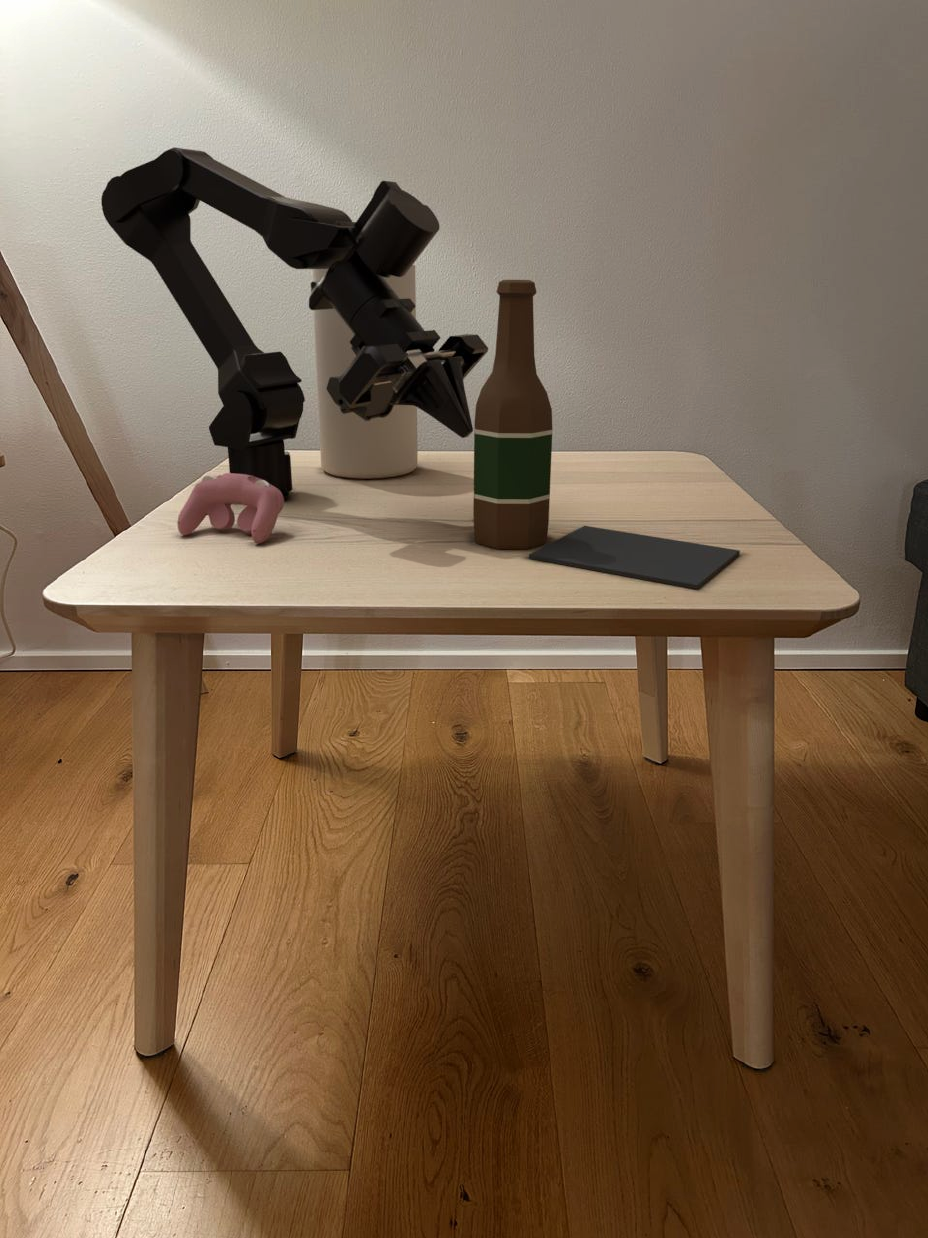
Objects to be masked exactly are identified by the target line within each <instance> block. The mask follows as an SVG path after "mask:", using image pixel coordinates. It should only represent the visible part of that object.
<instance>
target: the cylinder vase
mask: <svg viewBox="0 0 928 1238" xmlns="http://www.w3.org/2000/svg"><path fill="white" fill-rule="evenodd" d="M310 271H311V282H318V281H321V279H322V278H323V277H324V275H325V274H326V272H327V271H328V269H310ZM383 278H384V279H385V280H386V282H387V283H388V284H389V285H390V287H391V288H392V289H393V291H394V292H395V293H396V294H397V296H398V297H399V298H400V299H407V298H410V299H411V300H412V302H413V303H414V304H415V305H416V307H415V308H414V309H413V311H412V312H411V314H412V315H413V316H414V317H415V319H416V320H417V301H416V300H417V299H416V297H417V296H416V295H417V293H416V291H417V290H416V286H417V285H416V264H413V265H412V266H411V268H410V269H409V270H408V272H407V273H406V274H405V276H402V277H396V276H391V277H388V278H386V277H383ZM312 311H313V329H314V348H315V349H314V350H315V352H314V353H315V368H316V369H315V370H316V388H317V406H318V407H317V409H318V410H317V411H318V412H317V413H318V430H319V431H318V432H319V449H320V451H319V452H320V467H321V468H322V470H323V471H324V472H326V473H327V474H330V475H332V476H335V477H341V478H346V479H364V480H366V479H368V480H369V479H387V478H394V477H399V476H404V475H408V474H410V473H412V472H413V471H414V470H415V469H416V468H417V466H418V463H419V462H418V461H419V460H418V458H419V457H418V456H419V455H418V407H416V406H413V405H394V407H393V409H392V411H391V413H390V414H389V415H388V416H386V417H384V418H381V417H378V418H373V419H371V420H370V421H365V420H364V419H362V418H361V417H359V416H358V415H356V414H355V413H353V412H351V413H346V414H343V413H342V412H341V410H340V407H339V406H338V405H337V404H335V402H334V401H333V399H332V398H331V396H330V394H329V393H328V391H327V389H326V388H327V385H328V381H329V378H330V377H333V376H340V375H342V374H343V373H344V371H345V370H346V369H347V367H348V366H349V365H350V363H351V362H352V361H353V360H354V358H355V357H356V354H355V353H354V352H353V350H352V349H351V346H352V345H351V344H350V341H351V339H352V338H353V337H354V334H353V332H352V331H351V330H350V328H349V327H348V326H347V325H346V323H345V322H344V321H343V319H342V318H341V317H340V315H339V314H338V313H337V312H336V310H335V309H324V310H312Z"/></svg>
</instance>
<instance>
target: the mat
mask: <svg viewBox="0 0 928 1238" xmlns="http://www.w3.org/2000/svg"><path fill="white" fill-rule="evenodd" d="M740 554H741V551H740V550H739V549H732V548H727V547H721V546H715V545H707V544H701V543H696V542H689V541H682V540H677V539H671V538H664V537H659V536H658V537H657V536H652V535H646V534H639V533H634V532H626V531H621V530H613V529H609V528H601V527H595V526H589V525H583V526H581V527H579V528H577V529H576V530H573V531H571V532H569V533H568V534H566V535H564V536H561V537H560V538H558V539H556V540H554V541H552V542H550V543H548V544H546V545H544V546H543V547H540V548H539V549H537V550H535V551H533V552H530V553H529V554H528V559H530V560H536V561H541V562H546V563H552V564H556V565H557V564H558V565H561V566H562V565H563V566H568V567H573V568H579V569H583V570H584V569H585V570H590V571H595V572H601V573H606V574H611V575H617V576H622V577H627V578H628V577H629V578H633V579H638V580H644V581H650V582H655V583H660V584H666V585H671V586H677V587H681V588H687V589H692V590H698V589H699V588H701V587H702V586H703V585H704V584H705V583H706V582H708V581H709V580H710V579H711V578H713V577H714V576H715V575H716V574H718V572H720V571H721V570H722V569H724V568H725V567H726V566H727V565H728V564H729V563H731V562H732V561H733V560H734V559H736V558H737V557H738V556H739V555H740Z"/></svg>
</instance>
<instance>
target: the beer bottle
mask: <svg viewBox="0 0 928 1238" xmlns="http://www.w3.org/2000/svg"><path fill="white" fill-rule="evenodd" d="M496 293H497V295H498V296H499V298H498V299H499V300H498V312H497V313H498V314H497V325H496V340H495V351H494V352H495V354H494V360H493V364H492V371H491V372H490V374H489V376H488V378H487V379H486V380H485V382H484V384H483V386H482V387H481V389H480V392H479V395H478V398H477V401H476V404H475V412H474V424H473V425H474V427H473V432H474V433H473V500H472V501H473V503H472V504H473V507H472V509H473V513H472V515H473V517H472V518H473V534H474V535H473V536H474V537H473V538H474V542H475V543H476V544H478V545H482V546H485V547H489V548H491V549H496V550H528V549H531V548H535V547H538V546H541V545H542V546H543V545H544V544H546V542H547V540H548V533H549V523H550V522H549V521H550V497H551V477H552V476H551V475H552V450H553V447H552V446H553V409H552V406H551V402H550V399H549V395H548V391H547V390H546V389H545V386H544V385H543V383H542V381H541V379H540V377H539V376H538V373H537V366H536V365H537V364H536V358H535V325H534V296H535V295H536V294H537V293H538V292H537V288H536V284H535V281H532V280H530V279H502V280H500V281H498V285H497V288H496Z"/></svg>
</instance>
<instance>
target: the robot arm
mask: <svg viewBox="0 0 928 1238" xmlns="http://www.w3.org/2000/svg"><path fill="white" fill-rule="evenodd" d="M100 200H101V209H102V214H103V216H104V218H105V221H106V222H107V224H108V225H109V227H110V228H111V229H112V230H113V232H114V233H115V234H116V235H117V236H118V238H119V239H120V240H121V241H122V242H123V244H125V245H126V246H127V247H128V248H130V249H131V250H133V251H134V252H136V253H137V254H139V255H140V256H142V257H143V258H145V259H146V260H148V261H149V262H150V263H151V264H152V265H153V267H154V268H155V271H157V274H158V276H160V278H161V281H163V283H164V285H165V286H166V288H167V289H168V291H169V293H170V295H171V296H172V297H173V299H174V301H175V302H176V304H177V305H178V307H179V309H180V311H181V312H182V314H183V315H184V317H185V319H186V320H187V322H188V324H189V325H190V327H191V328H192V330H193V331H194V333H195V335H196V336H197V338H198V340H199V341H200V343H201V344H202V346H203V347H204V349H205V351H206V352H207V354H208V356H209V358H210V359H211V360H212V362H213V363H214V366H215V367H216V369H217V395H218V397H219V399H220V401H221V403H222V405H223V406H222V407H221V409H220V410H219V411H218V412H217V414H216V416H215V417H214V418H213V420H212V421H211V423H210V424H209V425H208V431H209V433H210V437H211V439H212V442H213V445H214V446H216V447H217V446H218V447H222V448H227V456H228V469H229V473H235V474H245V475H251V476H254V477H257V478H259V479H262V480H265V481H266V482H268V483H269V484H271V485H272V486H274V487H276V488H277V489H279V490H280V491H281V493H282V495H283V498H284V500H289V499H290V492H292V491H293V478H292V477H293V476H292V460H291V454H290V452H289V450H288V451H286V447H285V441H284V440H292V439H293V440H294V439H296V437H297V434H298V429H299V425H300V421H301V418H302V416H303V412H304V403H305V401H306V398H305V394H304V391H303V390H302V387H301V385H300V384H301V383H302V382H303V381H302V379H301V378H300V377H299V376H298V375H296V373H295V372H294V371H293V369H292V367H291V365H290V362H289V360H288V358H287V357H286V355H285V354H284V353H283V352H282V351H269V352H264V351H263V350H262V349H260V348H258V346H257V345H256V344H255V342H254V340H253V339H252V337H251V336H250V334H249V332H248V331H247V329H246V328H245V326H244V324H243V322H242V321H241V320H240V318H239V316H238V315H237V313H236V312H235V310H234V309H233V307H232V305H231V304H230V302H229V300H228V299H227V297H226V296H225V294H224V292H223V291H222V289H221V288H220V286H219V284H218V283H217V281H216V280H215V277H213V274H212V273H211V272H210V270H209V268H208V266H207V265H206V263H205V262H204V261H203V259H202V257H201V256H200V254H199V252H198V251H197V249H196V247H195V246H194V244H193V243H192V240H191V239H192V238H191V237H192V231H191V230H192V229H191V227H192V224H191V223H192V220H191V216H190V214H191V213H193V212H194V211H195V210H197V209H198V207H199V204H200V202H202V203H204V204H205V205H208V206H210V207H211V208H212V209H215V210H216V211H219V212H220V213H222V214H223V215H226V216H228V217H229V218H231V219H233V220H235V221H237V222H239V223H240V224H242V225H244V226H246V227H247V228H249V229H251V230H253V231H255V233H257V234H258V235H259V236H261V237H262V239H263V241H264V243H265V246H266V247H267V248H268V250H269V251H271V252H272V253H273V254H274V255H276V256H277V257H278V258H279V259H280V260H281V261H282V262H284V263H285V264H286V265H287V266H289V268H292V269H295V270H311V269H328V271H327V272H326V274H325V275H324V277H323V278H322V279H321V281H318V282H312V281H311V282H310V294H309V297H308V308H309V310H310V311H313V310H324V309H335V310H336V312H337V313H338V314H339V315H340V317H341V318H342V319H343V321H344V322H345V323H346V325H347V326H348V327H349V328H350V330H351V331H352V332H353V334H354V337H353V338H352V339H351V341H350V344H351V345H352V346H351V349H352V350H353V352H354V353H355V354H356V357H355V358H354V360H353V361H352V362H351V363H350V365H349V366H348V367H347V369H346V370H345V371H344V373H343V374H342V375H340V376H333V377H330V378H329V381H328V385H327V388H326V389H327V391H328V393H329V394H330V396H331V398H332V399H333V401H334V402H335V404H337V405H338V406H339V407H340V410H341V412H342V413H343V414H346V413H351V412H353V413H355V414H356V415H358V416H359V417H361V418H362V419H364V420H365V421H370V420H371V419H373V418H378V417H381V418H384V417H386V416H388V415H389V414H390V413H391V411H392V409H393V407H394V405H413V406H416V407H417V409H419V410H421V411H423V412H424V413H426V414H427V415H429V416H430V417H431V418H433V419H434V420H436V421H437V422H439V423H440V424H442V426H444V427H446V428H447V429H448V430H450V431H451V432H453V433H455V434H456V435H457V436H459V437H460V438H461V439H465V438H468V437H469V436H470V435H471V434H472V433H473V432H474V427H473V423H472V419H471V414H470V413H471V412H470V408H469V404H468V400H467V394H466V389H465V382H464V380H465V378H466V377H467V376H468V375H469V373H471V372H472V370H473V369H474V368H475V367H476V366H477V365H478V363H480V361H481V360H482V359H483V358H484V356H486V354H487V353H488V352H489V347H488V346H487V345H486V343H485V342H484V341H483V339H482V338H481V336H479V334H472V333H471V334H470V333H466V334H465V333H464V334H456V335H449V336H448V338H447V339H446V340H445V341H444V343H443V344H442V345H441V346H440V347H439V349H438V350H435V348H434V347H435V346H436V344H438V342H439V341H440V339H442V338H441V336H440V335H439V334H438V332H437V331H436V330H435V329H431V330H430V329H429V330H425V329H424V327H422V325H421V324H420V322H419V321H418V320H417V318H416V319H415V317H414V316H413V315H412V314H411V312H412V311H413V309H414V308H415V307H416V308H417V304H416V305H415V304H414V303H413V302H412V300H411V299H410V298H407V299H400V298H399V297H398V296H397V294H396V293H395V292H394V291H393V289H392V288H391V287H390V285H389V284H388V283H387V282H386V280H385V279H384V278H383V277H386V278H388V277H391V276H396V277H402V276H405V274H406V273H407V272H408V270H409V269H410V268H411V266H412V265H415V263H416V262H417V260H418V259H419V257H420V256H421V255H422V253H423V252H424V251H425V249H426V248H427V247H428V245H429V244H430V243H431V241H432V240H433V239H434V237H435V236H436V235H437V233H438V232H439V230H440V229H441V227H440V221H439V219H438V217H437V216H436V215H435V212H434V211H433V210H432V209H431V208H430V207H429V206H428V205H426V204H424V203H422V202H421V200H419V199H418V198H416V197H415V196H414V195H412V194H410V193H409V192H407V191H405V190H403V189H402V188H401V187H400V186H399V184H398V183H397V182H396V181H389V180H381V181H380V183H379V184H378V186H377V187H376V189H375V190H374V192H373V195H372V198H371V199H370V201H369V202H368V204H367V205H366V207H365V208H364V210H363V211H362V213H361V214H360V216H359V217H358V218H357V220H356V221H353V220H352V219H351V217H350V216H349V215H348V214H347V213H346V212H344V210H341V209H339V208H334V207H330V206H326V205H322V204H318V203H315V202H309V201H304V200H300V199H295V198H291V197H287V196H284V194H283V195H282V194H281V193H279V192H277V191H275V190H273V189H271V188H269V187H267V186H265V185H263V184H262V183H260V182H258V181H256V180H255V179H252V178H250V177H248V176H247V175H244V174H243V173H241V172H239V171H237V170H236V169H233V168H231V167H230V166H227V165H226V164H224V163H222V162H220V161H218V160H216V159H214V158H213V157H212V156H211V155H210V154H208V153H207V151H203V150H199V149H190V148H183V147H175V146H173V147H171V148H169V149H166V150H165V151H163V152H162V153H161V154H159V155H158V156H157V157H155V159H153V160H149V161H147V162H145V163H142V164H140V165H138V166H136V167H135V166H134V167H133V168H130V169H128V170H125V171H124V172H123V173H122V174H121V175H116V176H114V177H111V178H110V180H109V181H108V182H107V183H106V186H105V188H104V190H103V191H102V194H101V199H100ZM299 383H300V384H299Z"/></svg>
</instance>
